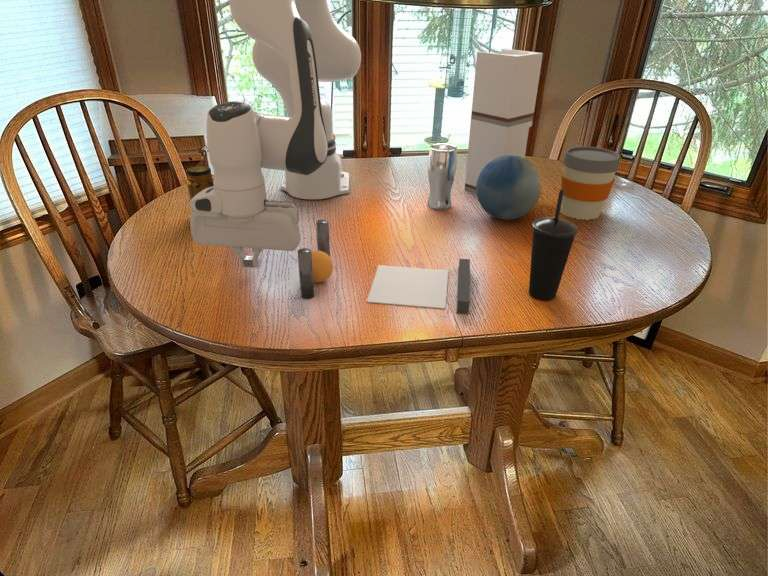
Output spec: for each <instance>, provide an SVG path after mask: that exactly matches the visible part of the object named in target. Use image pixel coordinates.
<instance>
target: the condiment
mask: <svg viewBox="0 0 768 576" xmlns="http://www.w3.org/2000/svg"><path fill="white" fill-rule="evenodd" d="M186 174H187V179H188V180H187V182H186V183H187V184H186V185H187V188H188V194H189V200H191V199H192V198H193V197H194V196H195V195H197V194H198V193H199V192H201V191H202V190H204V189H206V188H209V187H213V186H214V184H213V181H214V177H213V174H212V169H211V167H209V166H204V165H197V166H192V167H189V168H188V169H187V170H186ZM191 211H192V212H193V210H192V209H191ZM192 212H191V213H192Z"/></svg>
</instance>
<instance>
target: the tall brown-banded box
mask: <svg viewBox="0 0 768 576" xmlns="http://www.w3.org/2000/svg"><path fill="white" fill-rule="evenodd" d="M543 55H544V52H536V51H529V50H521V49H520V50H519V49H512V48H510V49H509V48H501V53H496V52H494V53H493V52H488V51H476V59H475V60H476V61H475V71H474V72H475V73H474V83H473V84H474V85H473V93H472V102H471V103H472V106H471V114H470V115H471V117H470V124H469V125H470V127H469V137H468V149H467V159H466V171H465V179H464V190H463V191H465V192H468V193H471V194H474V195H477V194H476V185H477V180H478V177H479V174H480V173H481V171H482V169H483V168H484V167H485V166H486V165H487V164H488V163H489V162H491V161H492V160H494V159H496V158H498V157H501V156H506V155H514V156H519V157H522V158H524V159H526V158H525V157H526V151H527V145H528V138H529V132H530V128H532V126H533V122H534V115H535V109H536V108H535V107H536V101H537V94H538V88H539V81H540V76H541V68H542V64H543V63H542V61H543Z"/></svg>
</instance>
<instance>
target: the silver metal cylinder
mask: <svg viewBox="0 0 768 576" xmlns="http://www.w3.org/2000/svg"><path fill="white" fill-rule="evenodd" d="M457 160H458V147H457V146H456V145H454V144H451V143H435V144H433V143H432V144H431V145H429V151H428V159H427V174H428V182H429V196H428V201H427V207H428V208H429V209H431V210H438V211H445V210H449V209H450V208H451V207H452V195H451V194H452V189H453V185H454V181H455V176H456V171H457V163H458V161H457Z"/></svg>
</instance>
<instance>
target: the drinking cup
mask: <svg viewBox="0 0 768 576" xmlns="http://www.w3.org/2000/svg"><path fill="white" fill-rule="evenodd" d="M563 193H564V190H561V189H559V192H558V197H557V203H556V206H555V208H556V209H555V213H554V216H547V217H545V216H544V217H540V218H536V219H535V220H533V222H532V223H531V228H532V239H531V240H532V241H531V253H530V254H531V255H530V271H529V284H528V285H529V286H528V294H529V296H530V297H531V298H533V299H536V300H538V301H542V302H547V301H548V302H549V301H552V300H555V298H556V297H557V293H558V290H559V286H560V283H561V280H562V278H563V275H564V272H565V268H566V265H567V262H568V258H569V255H570V253H571V249H572V247H573V243H574V240H575V237H576V235H577V234H578V232H579V227H578V226H577V224H575V223H573V222H572V221H569V220H567V219H565V218H562V217H560V214H561V210H562V198H563Z"/></svg>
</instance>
